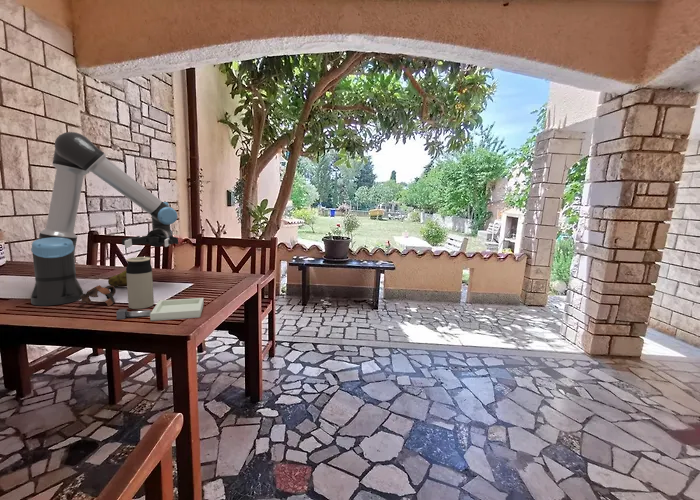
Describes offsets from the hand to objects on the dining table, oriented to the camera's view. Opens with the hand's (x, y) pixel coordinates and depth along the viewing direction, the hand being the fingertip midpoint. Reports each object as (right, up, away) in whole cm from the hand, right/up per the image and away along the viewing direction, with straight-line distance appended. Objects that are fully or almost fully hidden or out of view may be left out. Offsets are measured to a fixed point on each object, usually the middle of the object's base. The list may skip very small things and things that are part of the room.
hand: (146, 244), depth 129 cm
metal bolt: (+7, -25, -17) cm, 31 cm away
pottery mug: (-14, -23, -5) cm, 27 cm away
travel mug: (+2, -23, -6) cm, 24 cm away
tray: (+19, -25, -11) cm, 33 cm away
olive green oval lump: (-20, -19, +18) cm, 34 cm away
